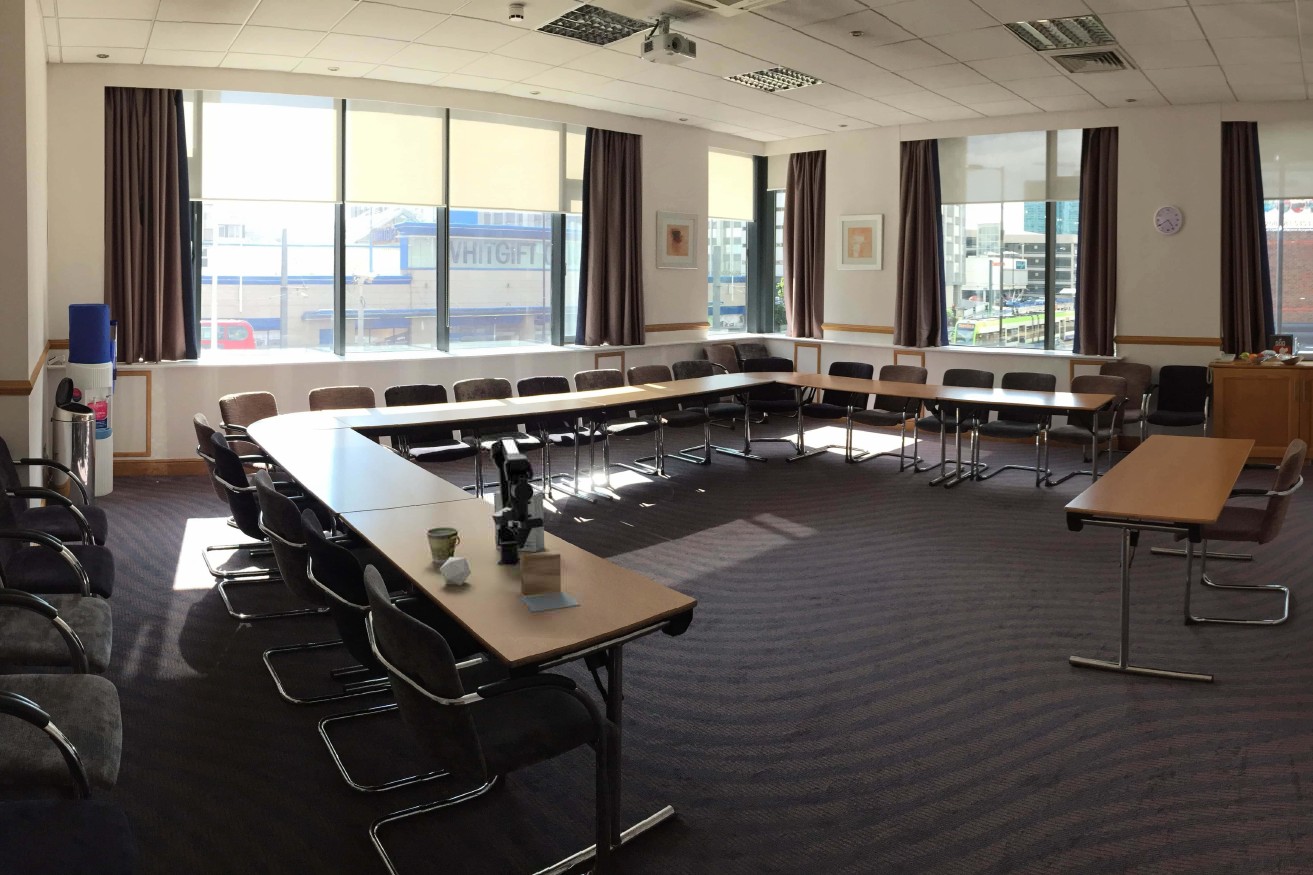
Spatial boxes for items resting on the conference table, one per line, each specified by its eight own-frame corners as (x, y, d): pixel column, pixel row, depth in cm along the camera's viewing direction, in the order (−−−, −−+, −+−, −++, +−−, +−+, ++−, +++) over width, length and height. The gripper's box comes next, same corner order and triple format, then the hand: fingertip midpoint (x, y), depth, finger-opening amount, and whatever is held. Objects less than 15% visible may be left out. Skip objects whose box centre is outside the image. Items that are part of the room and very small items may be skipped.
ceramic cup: (421, 561, 308) (420, 531, 306) (444, 554, 316) (443, 525, 315) (448, 568, 301) (447, 538, 299) (471, 560, 309) (470, 531, 307)
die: (475, 582, 289) (464, 554, 292) (471, 576, 281) (460, 548, 283) (450, 593, 287) (439, 565, 290) (445, 588, 279) (434, 559, 282)
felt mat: (520, 599, 272) (520, 598, 271) (566, 592, 277) (566, 591, 277) (532, 612, 261) (532, 611, 261) (580, 605, 267) (580, 604, 267)
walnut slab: (521, 594, 276) (520, 554, 274) (556, 589, 281) (555, 550, 279) (525, 598, 273) (524, 558, 271) (560, 593, 277) (560, 554, 275)
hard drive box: (545, 546, 326) (544, 490, 322) (536, 552, 318) (535, 495, 315) (504, 543, 330) (503, 488, 327) (494, 549, 323) (493, 492, 319)
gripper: (480, 499, 288) (482, 549, 289) (511, 503, 274) (514, 556, 275) (511, 495, 295) (514, 543, 296) (543, 499, 281) (546, 550, 282)
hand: (521, 548), depth 287 cm, fingers closed
